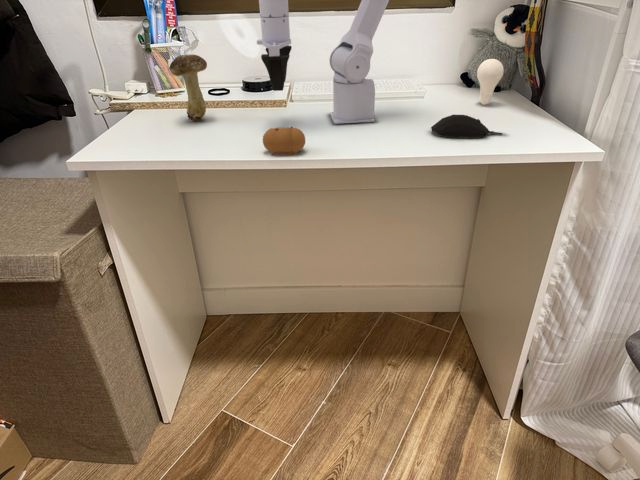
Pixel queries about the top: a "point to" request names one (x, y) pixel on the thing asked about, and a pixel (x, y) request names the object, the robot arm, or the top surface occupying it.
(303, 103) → the top surface
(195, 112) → the mushroom
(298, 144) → the potato
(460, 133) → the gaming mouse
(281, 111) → the top surface
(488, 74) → the lightbulb
